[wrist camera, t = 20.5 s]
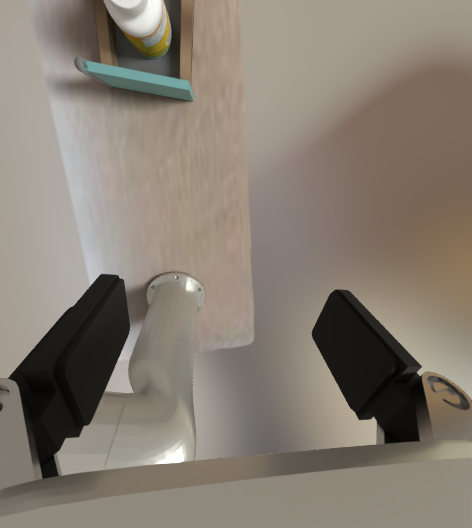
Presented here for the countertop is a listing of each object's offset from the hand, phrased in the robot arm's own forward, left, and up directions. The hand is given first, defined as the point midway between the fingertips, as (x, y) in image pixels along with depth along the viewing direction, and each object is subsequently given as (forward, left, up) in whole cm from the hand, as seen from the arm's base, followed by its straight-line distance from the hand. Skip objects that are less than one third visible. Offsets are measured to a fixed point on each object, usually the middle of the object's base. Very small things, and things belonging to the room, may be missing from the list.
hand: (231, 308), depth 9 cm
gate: (+12, +10, -30) cm, 34 cm away
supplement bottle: (+17, +10, -30) cm, 36 cm away
